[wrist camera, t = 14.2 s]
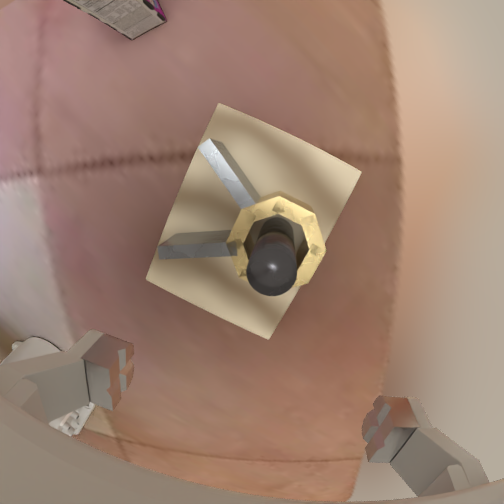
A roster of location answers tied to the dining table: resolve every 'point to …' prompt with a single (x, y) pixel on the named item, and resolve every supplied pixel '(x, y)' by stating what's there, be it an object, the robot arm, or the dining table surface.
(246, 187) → the hinge leaves
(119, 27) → the candy bar box
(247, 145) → the oak board
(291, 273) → the hinge pin
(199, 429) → the dining table surface
